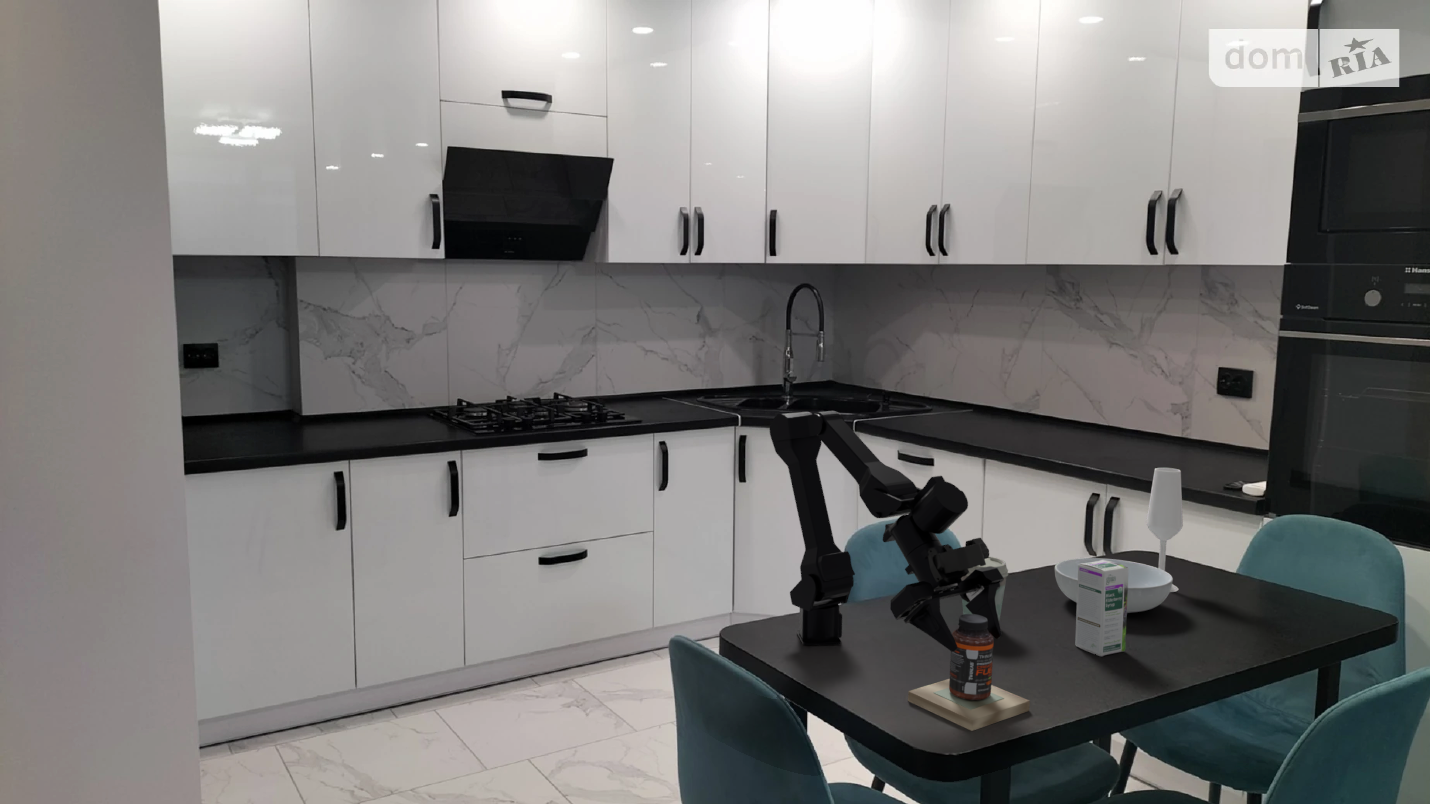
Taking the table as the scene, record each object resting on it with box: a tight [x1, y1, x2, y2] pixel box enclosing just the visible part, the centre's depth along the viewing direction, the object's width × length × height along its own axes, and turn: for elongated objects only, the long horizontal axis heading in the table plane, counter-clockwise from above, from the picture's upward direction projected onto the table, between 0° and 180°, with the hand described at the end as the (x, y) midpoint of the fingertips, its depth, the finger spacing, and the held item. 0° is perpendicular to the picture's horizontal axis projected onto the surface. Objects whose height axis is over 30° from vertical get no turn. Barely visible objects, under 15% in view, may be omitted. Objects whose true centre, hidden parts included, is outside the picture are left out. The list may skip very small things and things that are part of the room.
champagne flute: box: [1145, 467, 1184, 593], centre depth 206 cm, size 7×7×24 cm
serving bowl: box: [1054, 557, 1174, 614], centre depth 194 cm, size 21×21×7 cm
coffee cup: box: [961, 556, 1009, 621], centre depth 181 cm, size 8×8×12 cm
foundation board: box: [907, 678, 1031, 732], centre depth 148 cm, size 12×12×2 cm
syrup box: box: [1074, 560, 1129, 657], centre depth 171 cm, size 6×6×14 cm
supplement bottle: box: [949, 614, 995, 700], centre depth 147 cm, size 6×6×11 cm
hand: (977, 643), depth 146 cm, fingers open, 9 cm apart
